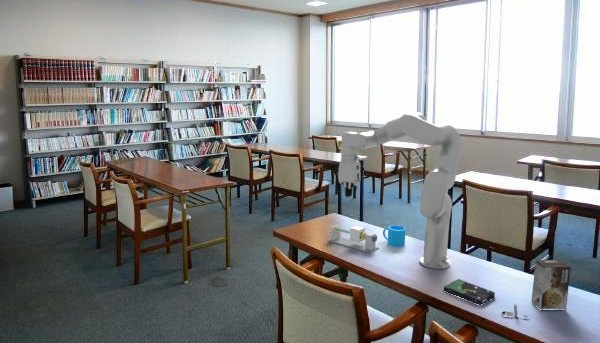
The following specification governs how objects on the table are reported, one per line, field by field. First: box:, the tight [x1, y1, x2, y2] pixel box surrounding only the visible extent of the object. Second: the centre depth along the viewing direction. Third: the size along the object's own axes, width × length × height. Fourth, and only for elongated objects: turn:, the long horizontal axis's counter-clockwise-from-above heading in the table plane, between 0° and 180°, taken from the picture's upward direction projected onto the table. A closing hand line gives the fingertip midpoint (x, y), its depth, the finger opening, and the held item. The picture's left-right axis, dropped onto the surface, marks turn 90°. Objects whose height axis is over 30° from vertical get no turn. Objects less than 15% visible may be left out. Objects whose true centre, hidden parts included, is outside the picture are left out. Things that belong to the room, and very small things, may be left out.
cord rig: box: [327, 224, 380, 254], centre depth 217 cm, size 24×8×8 cm, turn 50°
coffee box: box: [530, 259, 572, 310], centre depth 157 cm, size 9×6×16 cm
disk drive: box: [443, 278, 496, 306], centre depth 167 cm, size 10×3×15 cm
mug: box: [382, 224, 407, 248], centre depth 220 cm, size 12×8×8 cm
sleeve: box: [349, 225, 366, 243], centre depth 215 cm, size 5×5×6 cm
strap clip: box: [503, 304, 518, 318], centre depth 151 cm, size 8×3×4 cm, turn 73°
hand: (348, 196), depth 216 cm, fingers closed
